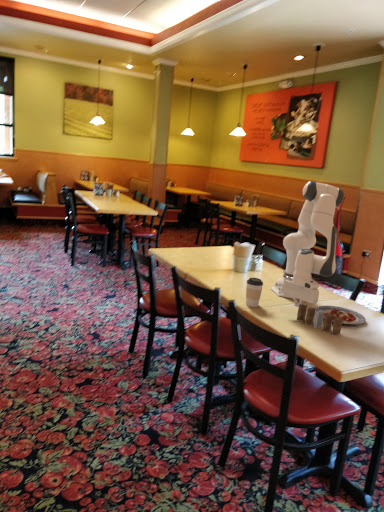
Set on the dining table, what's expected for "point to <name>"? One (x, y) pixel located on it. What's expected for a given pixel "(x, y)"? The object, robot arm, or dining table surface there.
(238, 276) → the dining table surface
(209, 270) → the dining table surface
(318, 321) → the tile
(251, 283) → the coffee cup
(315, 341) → the dining table surface
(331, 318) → the tile
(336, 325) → the tile
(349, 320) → the ceramic plate
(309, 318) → the tile
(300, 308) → the tile
